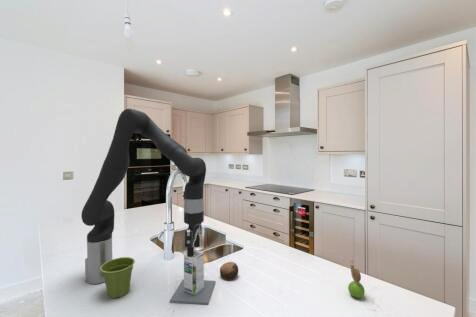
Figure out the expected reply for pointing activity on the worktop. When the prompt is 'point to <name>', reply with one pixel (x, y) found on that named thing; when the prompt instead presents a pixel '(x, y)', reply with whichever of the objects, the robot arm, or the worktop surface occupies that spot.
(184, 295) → the slate pad
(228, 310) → the worktop surface
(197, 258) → the syrup box
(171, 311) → the worktop surface
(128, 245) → the worktop surface
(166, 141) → the robot arm
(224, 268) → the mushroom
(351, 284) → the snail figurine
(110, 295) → the plant pot
